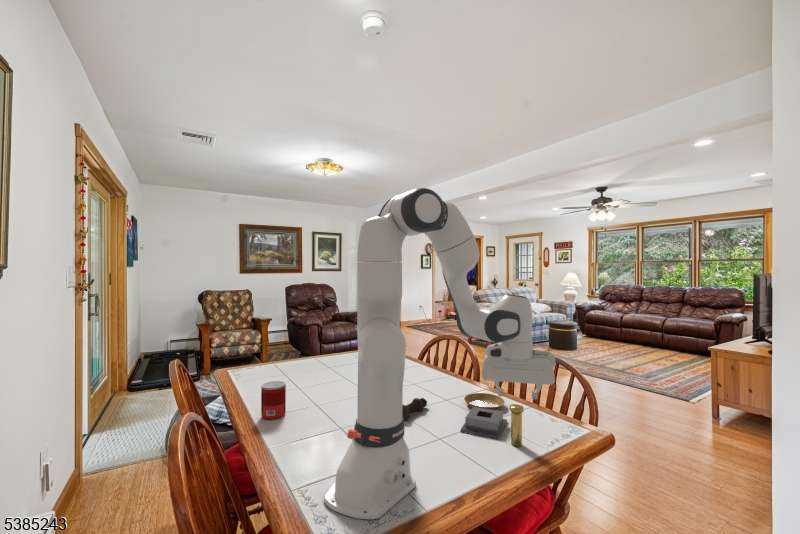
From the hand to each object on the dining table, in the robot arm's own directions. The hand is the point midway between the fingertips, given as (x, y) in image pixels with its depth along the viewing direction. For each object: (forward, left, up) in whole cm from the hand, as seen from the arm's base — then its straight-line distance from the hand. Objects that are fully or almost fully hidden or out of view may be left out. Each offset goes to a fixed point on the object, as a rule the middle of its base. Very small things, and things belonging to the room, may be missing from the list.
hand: (517, 397), depth 107 cm
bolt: (+8, +37, -14) cm, 40 cm away
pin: (0, 0, -14) cm, 14 cm away
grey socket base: (+8, +11, -14) cm, 19 cm away
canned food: (-15, +79, -14) cm, 82 cm away
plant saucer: (+26, +15, -14) cm, 33 cm away
